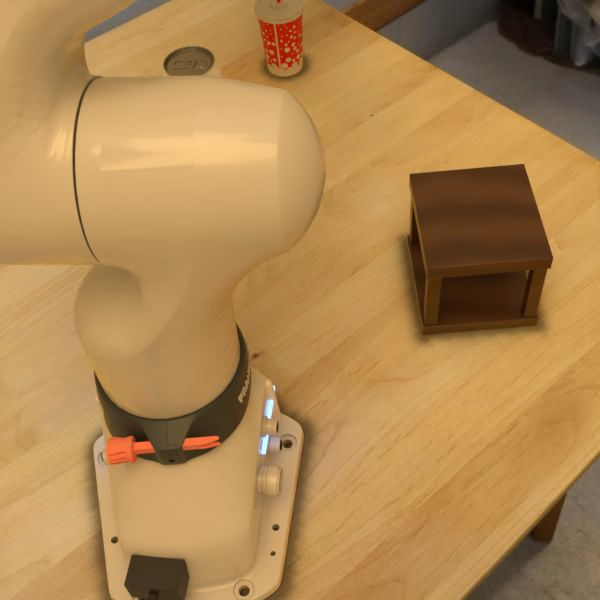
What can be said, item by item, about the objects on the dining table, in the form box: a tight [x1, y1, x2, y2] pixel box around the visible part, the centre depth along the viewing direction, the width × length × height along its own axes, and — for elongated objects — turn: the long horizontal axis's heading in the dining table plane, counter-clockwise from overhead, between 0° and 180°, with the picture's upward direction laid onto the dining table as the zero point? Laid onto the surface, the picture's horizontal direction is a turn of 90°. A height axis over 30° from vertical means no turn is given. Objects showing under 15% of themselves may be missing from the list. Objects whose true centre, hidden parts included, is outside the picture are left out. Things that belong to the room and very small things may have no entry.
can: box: [161, 45, 223, 77], centre depth 97 cm, size 6×6×12 cm
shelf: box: [406, 163, 554, 336], centre depth 82 cm, size 12×11×10 cm
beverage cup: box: [253, 0, 305, 77], centre depth 104 cm, size 6×6×14 cm
